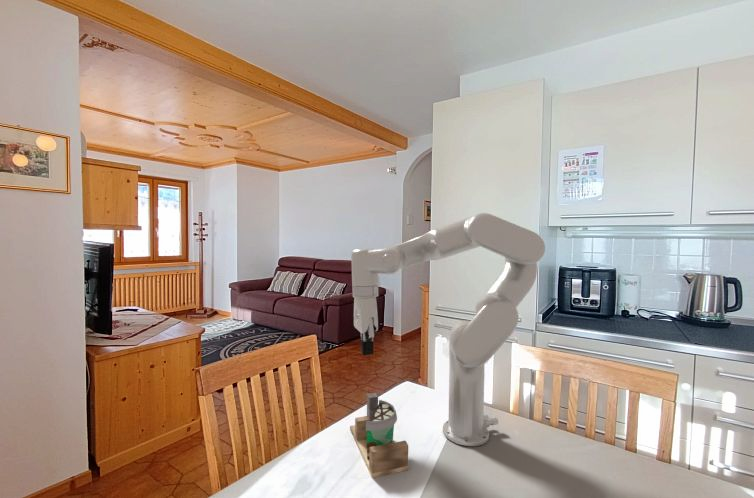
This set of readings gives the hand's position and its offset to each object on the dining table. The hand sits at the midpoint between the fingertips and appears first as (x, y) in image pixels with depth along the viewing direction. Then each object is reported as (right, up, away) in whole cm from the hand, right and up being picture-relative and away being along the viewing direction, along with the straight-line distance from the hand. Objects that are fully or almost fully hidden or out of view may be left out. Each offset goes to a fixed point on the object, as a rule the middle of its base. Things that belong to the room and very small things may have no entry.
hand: (367, 353), depth 101 cm
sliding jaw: (+1, -20, -7) cm, 21 cm away
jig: (+3, -22, -10) cm, 24 cm away
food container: (+5, -21, -13) cm, 25 cm away
